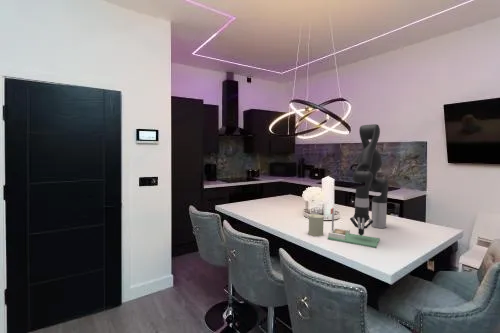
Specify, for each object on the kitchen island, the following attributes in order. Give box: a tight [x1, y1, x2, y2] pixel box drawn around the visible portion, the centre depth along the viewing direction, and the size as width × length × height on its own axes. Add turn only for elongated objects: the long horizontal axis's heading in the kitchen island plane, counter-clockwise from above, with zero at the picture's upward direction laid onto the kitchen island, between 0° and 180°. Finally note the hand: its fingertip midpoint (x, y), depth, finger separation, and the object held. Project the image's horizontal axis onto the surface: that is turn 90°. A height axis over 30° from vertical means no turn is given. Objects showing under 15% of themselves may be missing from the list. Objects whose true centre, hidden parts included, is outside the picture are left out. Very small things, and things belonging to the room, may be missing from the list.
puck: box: [335, 228, 346, 235], centre depth 161 cm, size 6×6×3 cm
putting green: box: [327, 233, 380, 249], centre depth 157 cm, size 16×26×1 cm, turn 58°
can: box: [307, 213, 325, 237], centre depth 166 cm, size 9×9×12 cm
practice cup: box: [327, 207, 351, 240], centre depth 160 cm, size 13×10×16 cm
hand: (361, 234), depth 154 cm, fingers closed
